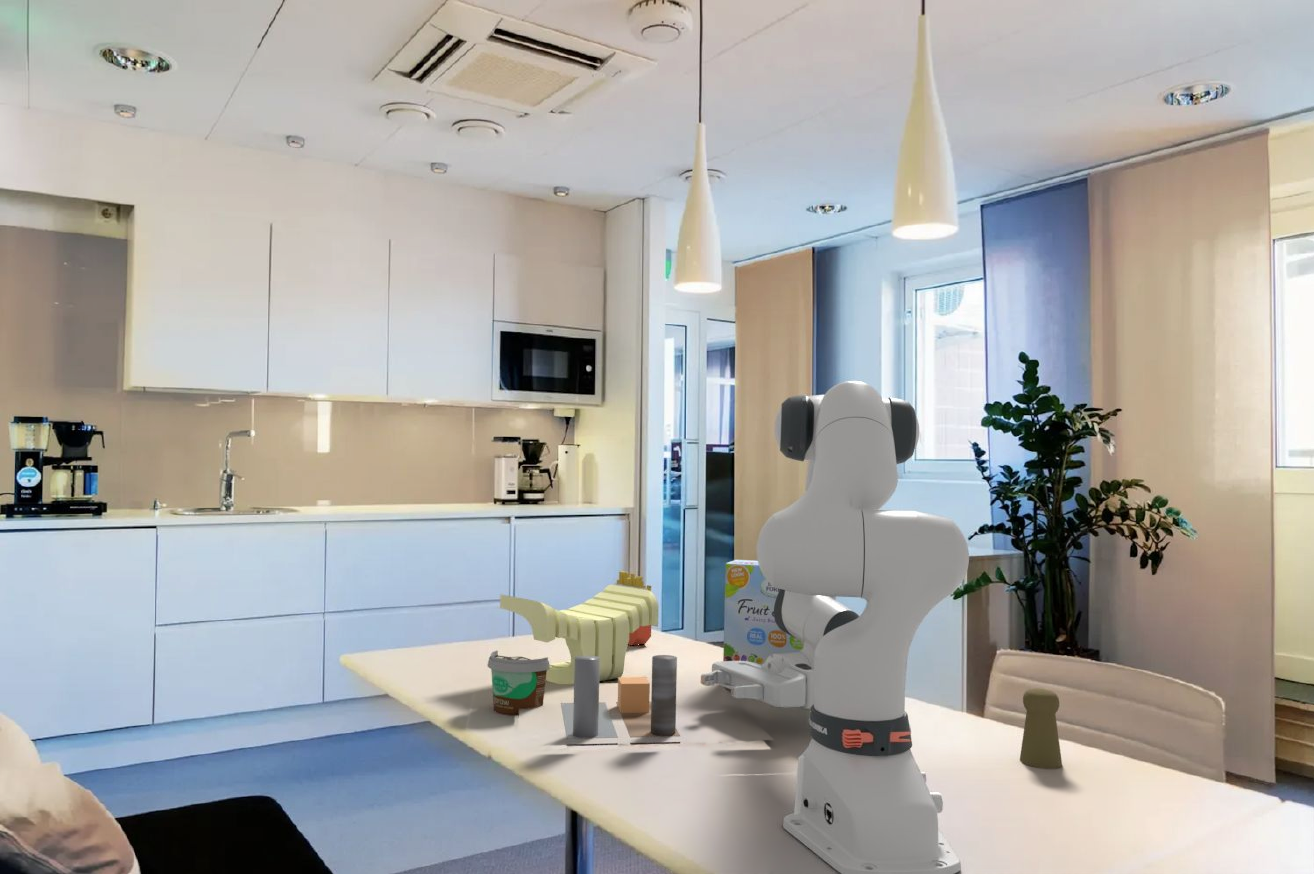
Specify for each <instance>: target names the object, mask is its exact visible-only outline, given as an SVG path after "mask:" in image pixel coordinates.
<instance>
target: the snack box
mask: <svg viewBox="0 0 1314 874" xmlns="http://www.w3.org/2000/svg"><path fill="white" fill-rule="evenodd" d="M724 574H725V576H724V577H725V581H724V583H725V584H724V613H723V614H724V615H723V617H724V618H723V619H724V621H723V622H724V624H723V652H722V653H723V654H722V655H723V660H722V661H749V662H753V663H756V664H759V665H763V664H764V663H765V662H766V660H767V658H768V657H769V656H770V655H772V654H777V653H789V652H799V651H801V650H802V649H803V646H804V643H802V642H801V641H799V640H798V639H796V638H794V637H792V636H790V635H789V634H787V633H785V632H783V631H782V630H781V629H780V628H779V627H778V626H777V624H776V622H775V618H774V605H775V601H776V598H777V595H778V593H779V590H780V589H779V588H775V587H773V586H772V585H771V584H770V583H769V582H768V581H767V580H766V578H765V577H764V575H763V573H762V571H761V569H760V567H759V564H758V560H749V559H733V560H731V561H729V562H726V563H725V573H724ZM829 597H831V598H832V599H834V600H835V601H837V596H829ZM723 688H724V689H725V690H729V691H731V689H728V688H726V687H723Z"/></svg>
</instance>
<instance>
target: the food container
mask: <svg viewBox="0 0 1314 874" xmlns="http://www.w3.org/2000/svg"><path fill="white" fill-rule="evenodd" d="M498 652H499V651H498V650H494V651H492V652H490V656H489V658H488V661H487V668H489V669H491V670H490V671H491V685H492V700H493V701H492V702H493V712H495V713H496V714H499V715H505V716H510V717H511V716H512V717H513V716H517V717H519V716H520V710H524V709H525V710H526V709H535V708H539V707H541V706H543V705H544V700H545V699H544V698H545V688H546V682H547V681H546V673H547V670H549V669H550V665H549V664H550V661H549V657H541V658H534V659H531V658H528V657H524V656H504V655H499V654H498Z"/></svg>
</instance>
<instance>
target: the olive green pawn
mask: <svg viewBox="0 0 1314 874" xmlns="http://www.w3.org/2000/svg"><path fill="white" fill-rule="evenodd" d="M1022 703H1023V707H1024V708H1025V710H1026V714H1025V720H1024V728H1023V735H1022V739H1021V740H1022V741H1021V749H1020V756H1019V762H1021V763H1022V764H1024V765H1026V766H1030V767H1034V768H1038V769H1046V770H1048V769H1050V770H1051V769H1054V770H1055V769H1060V768H1062V767H1063V760H1062V753H1061V746H1060V739H1059V731H1058V723H1057V717H1056V713H1057V712H1058V711H1059V708H1060V699H1059V696H1058V695H1057V693H1055V692H1054V691H1051V690H1049V689H1044V688H1030V689H1028V690H1025V692H1024V693H1023V696H1022Z"/></svg>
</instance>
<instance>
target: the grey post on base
mask: <svg viewBox="0 0 1314 874" xmlns="http://www.w3.org/2000/svg"><path fill="white" fill-rule="evenodd" d="M599 673H600V658H599V657H597V656H577V657H575V669H574V684H573V702H561V703H560V704H561V711H562V717H563V723H564V729H565V735H566V739H569V740H570V739H607V738H613V739H614V738H615V739H616V738H617V739H618V738H619V736H618V733H617V731H616V728H615V725H614V723H613V719H612V717H611V714H610V712H609V708H608V705H607V704H606V701H605V702H603V701H602V702H600V681H599ZM618 745H619V744H618V742H614V743H612V742H610V743H609V742H608V743H569V744H567V743H566V747H577V746H578V747H581V746H582V747H584V746H589V747H590V746H618Z"/></svg>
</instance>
